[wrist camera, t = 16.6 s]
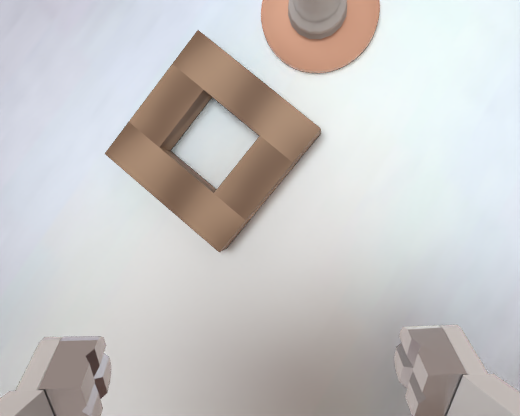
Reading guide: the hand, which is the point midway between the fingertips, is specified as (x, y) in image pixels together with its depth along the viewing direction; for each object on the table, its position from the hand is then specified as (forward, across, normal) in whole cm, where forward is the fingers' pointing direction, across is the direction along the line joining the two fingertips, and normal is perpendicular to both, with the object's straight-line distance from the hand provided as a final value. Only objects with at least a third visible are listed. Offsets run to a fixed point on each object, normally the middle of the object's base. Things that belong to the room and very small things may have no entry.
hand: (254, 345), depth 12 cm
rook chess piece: (+28, -6, -5) cm, 29 cm away
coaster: (+28, -6, -5) cm, 29 cm away
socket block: (+25, +2, +5) cm, 25 cm away
